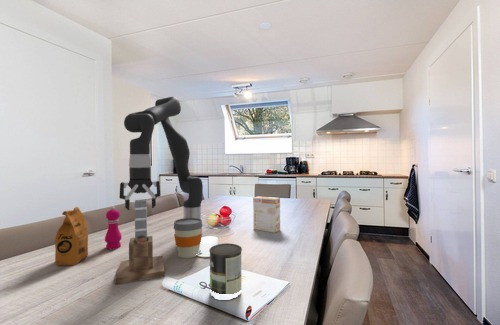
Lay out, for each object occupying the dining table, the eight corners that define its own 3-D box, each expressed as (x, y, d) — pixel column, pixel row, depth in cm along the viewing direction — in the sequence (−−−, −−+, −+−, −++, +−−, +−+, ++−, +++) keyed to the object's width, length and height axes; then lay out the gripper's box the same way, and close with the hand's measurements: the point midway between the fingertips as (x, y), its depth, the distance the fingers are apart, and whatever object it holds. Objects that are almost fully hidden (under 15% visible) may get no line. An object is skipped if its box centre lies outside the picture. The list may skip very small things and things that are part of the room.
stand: (162, 260, 109) (162, 228, 108) (164, 276, 94) (164, 239, 94) (120, 266, 103) (120, 232, 103) (115, 284, 88) (114, 244, 88)
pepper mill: (114, 250, 121) (114, 208, 121) (101, 249, 122) (100, 207, 122) (125, 245, 128) (124, 205, 128) (112, 244, 130) (111, 204, 129)
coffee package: (50, 267, 102) (49, 212, 102) (68, 255, 115) (67, 206, 114) (76, 266, 103) (75, 211, 103) (92, 254, 116) (91, 206, 116)
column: (147, 245, 101) (146, 199, 101) (146, 248, 97) (146, 200, 97) (135, 246, 99) (135, 199, 99) (135, 249, 96) (134, 201, 95)
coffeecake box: (280, 230, 153) (280, 197, 153) (275, 233, 147) (275, 199, 147) (259, 226, 161) (258, 195, 161) (253, 229, 155) (252, 197, 155)
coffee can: (208, 302, 77) (208, 255, 76) (210, 285, 87) (210, 243, 87) (243, 300, 78) (242, 253, 77) (241, 283, 88) (241, 242, 88)
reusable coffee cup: (207, 251, 119) (207, 218, 119) (193, 261, 107) (192, 225, 107) (184, 248, 123) (184, 217, 123) (168, 257, 111) (167, 223, 111)
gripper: (159, 165, 104) (160, 205, 104) (120, 166, 99) (121, 208, 99) (160, 166, 97) (160, 209, 97) (118, 167, 92) (118, 212, 92)
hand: (140, 208), depth 98 cm, fingers open, 8 cm apart
